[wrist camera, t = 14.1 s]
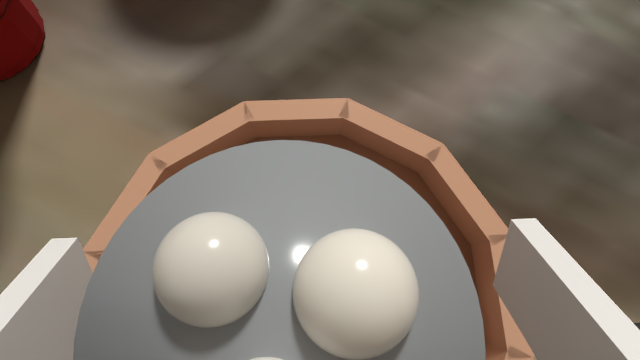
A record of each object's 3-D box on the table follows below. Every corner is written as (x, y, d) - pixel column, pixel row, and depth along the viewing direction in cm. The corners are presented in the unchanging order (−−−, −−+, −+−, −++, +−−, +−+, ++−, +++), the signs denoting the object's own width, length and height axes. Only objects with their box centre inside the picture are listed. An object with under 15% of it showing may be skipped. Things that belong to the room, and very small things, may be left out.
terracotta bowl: (89, 540, 15) (38, 599, 13) (130, 131, 20) (99, 105, 17) (523, 514, 16) (570, 565, 13) (462, 120, 21) (487, 93, 18)
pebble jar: (221, 392, 16) (-24, 677, 4) (226, 227, 18) (61, 122, 6) (385, 384, 16) (567, 637, 5) (372, 222, 18) (479, 109, 6)
